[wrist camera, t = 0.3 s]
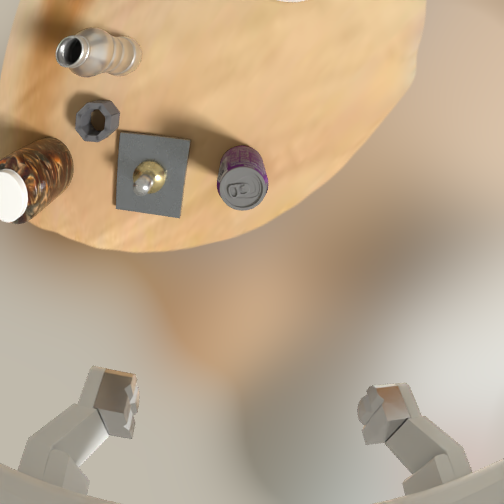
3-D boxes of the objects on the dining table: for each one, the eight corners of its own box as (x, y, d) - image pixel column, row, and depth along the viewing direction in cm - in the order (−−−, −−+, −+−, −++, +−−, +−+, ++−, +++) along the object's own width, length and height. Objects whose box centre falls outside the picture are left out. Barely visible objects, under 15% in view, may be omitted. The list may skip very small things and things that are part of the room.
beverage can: (226, 189, 55) (224, 219, 45) (215, 151, 51) (209, 171, 41) (267, 179, 54) (274, 206, 44) (257, 140, 51) (262, 157, 41)
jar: (23, 139, 47) (-26, 163, 34) (72, 135, 48) (26, 158, 35) (29, 196, 53) (-13, 230, 40) (76, 196, 54) (37, 234, 41)
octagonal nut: (87, 99, 45) (77, 102, 42) (121, 101, 46) (112, 103, 42) (84, 135, 48) (74, 140, 45) (117, 138, 49) (108, 142, 46)
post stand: (122, 131, 49) (107, 140, 43) (191, 139, 50) (184, 148, 44) (117, 206, 55) (104, 223, 49) (180, 215, 57) (174, 234, 51)
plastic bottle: (111, 80, 44) (49, 88, 27) (106, 43, 40) (42, 34, 23) (147, 70, 44) (98, 71, 27) (143, 33, 40) (92, 14, 23)
